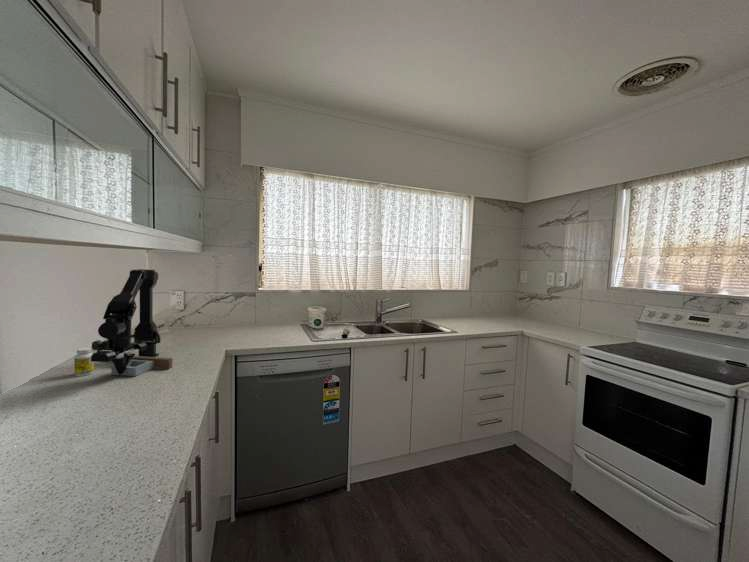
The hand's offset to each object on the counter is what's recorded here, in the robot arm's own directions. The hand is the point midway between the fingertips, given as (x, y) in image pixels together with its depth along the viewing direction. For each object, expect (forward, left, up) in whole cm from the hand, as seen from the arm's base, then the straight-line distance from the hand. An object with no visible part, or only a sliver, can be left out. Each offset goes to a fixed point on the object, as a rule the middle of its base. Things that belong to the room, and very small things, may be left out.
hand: (120, 374), depth 117 cm
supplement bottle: (-1, -15, -1) cm, 15 cm away
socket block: (-6, 0, -1) cm, 6 cm away
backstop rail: (-12, 0, -1) cm, 12 cm away
